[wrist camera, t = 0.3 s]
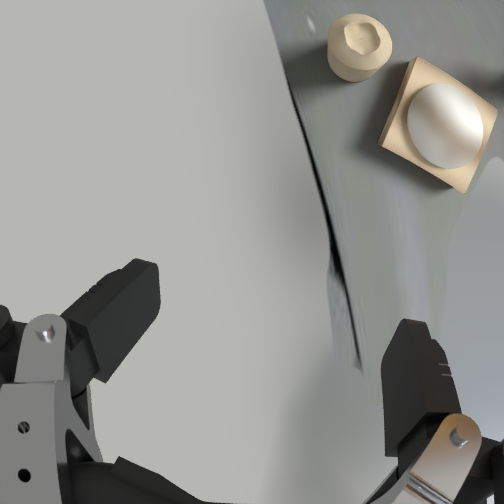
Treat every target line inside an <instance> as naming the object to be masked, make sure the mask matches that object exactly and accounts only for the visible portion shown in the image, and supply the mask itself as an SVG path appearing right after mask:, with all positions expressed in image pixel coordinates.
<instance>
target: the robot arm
mask: <svg viewBox="0 0 504 504" xmlns="http://www.w3.org/2000/svg"><path fill="white" fill-rule="evenodd" d="M160 303H161V300H160V287H159V270H158V266H157V264H155V263H152V262H149V261H145V260H141V259H137V258H136V259H133V260H132V261H131V262H129V263H128V264H127V265H126V266H125V267H124V268H122V269H118V270H116V271H114V272H111V273H109V274H107V275H105V276H104V277H103V278H102V279H101V280H99V281H98V282H97V284H96V285H94V286H92V287H91V288H90V289H89V291H88V292H86V293H85V294H83V295H82V296H81V297H80V298H79V299H78V300H76V301H75V302H74V303H73V304H72V305H71V306H70V307H69V308H68V309H66V310H65V311H64V312H63V313H62V314H61V315H60V316H58V315H55V314H45V315H41V316H38V317H36V318H34V319H33V320H31V321H30V322H29V323H28V324H27V323H22V322H16V321H13V320H12V317H11V315H10V313H9V310H8V309H7V307H5V306H2V305H0V504H229V503H212V502H204V501H201V500H199V499H197V498H195V497H194V496H192V495H190V494H189V493H187V492H185V491H184V490H182V489H181V488H179V487H178V486H176V485H175V484H173V483H171V482H170V481H169V480H167V479H165V478H164V477H163V476H161V475H160V474H158V473H155V472H153V471H150V470H148V469H145V468H143V467H141V466H139V465H137V464H134V463H132V462H130V461H128V460H126V459H124V458H122V457H120V456H119V457H118V458H117V460H116V462H115V463H114V464H112V463H105V462H103V458H102V455H101V452H100V449H99V446H98V444H97V441H96V437H95V431H94V423H93V414H92V403H91V390H90V385H89V382H90V381H91V380H92V379H93V377H94V378H96V379H98V380H100V381H102V382H104V383H106V382H107V381H108V380H109V378H110V377H111V376H112V374H113V373H114V372H115V370H116V369H117V368H118V366H119V365H120V364H121V362H122V361H123V360H124V359H125V357H126V356H127V354H128V353H129V352H130V351H131V349H132V348H133V347H134V346H135V344H136V343H137V342H138V340H139V339H140V338H141V336H142V335H143V334H144V332H145V331H146V330H147V329H148V328H149V326H150V325H151V324H152V322H153V321H154V320H155V319H156V317H157V315H158V313H159V309H160ZM381 380H382V392H383V408H384V430H385V456H387V457H398V465H397V466H395V467H394V469H393V470H392V471H391V472H390V473H389V475H388V476H387V477H386V478H385V479H384V480H383V482H382V483H381V484H380V485H379V486H378V487H377V488H376V490H375V491H374V492H373V493H372V494H371V495H370V496H369V497H368V498H367V500H365V501H364V503H363V504H487V498H488V497H490V496H491V495H493V494H494V502H495V503H494V504H504V439H503V440H502V441H501V442H498V441H495V440H492V439H488V438H485V437H482V436H481V432H480V429H479V427H478V425H477V424H476V423H475V422H474V420H472V419H471V418H470V417H468V416H466V415H463V414H462V412H461V408H460V404H459V400H458V396H457V392H456V388H455V385H454V381H453V378H452V377H451V371H450V367H449V366H448V361H447V358H446V355H445V352H444V350H443V349H442V347H441V346H440V345H439V343H438V342H437V341H436V340H434V339H431V336H430V333H429V330H428V327H427V324H426V323H425V322H422V321H416V320H410V319H405V318H404V319H402V320H401V322H400V323H399V325H398V327H397V330H396V332H395V334H394V336H393V338H392V340H391V342H390V344H389V346H388V348H387V350H386V351H385V354H384V356H383V359H382V363H381Z"/></svg>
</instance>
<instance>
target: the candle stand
mask: <svg viewBox="0 0 504 504" xmlns="http://www.w3.org/2000/svg"><path fill="white" fill-rule="evenodd" d="M497 113H498V110H497V109H496V108H494V107H493V106H492V105H491V104H489V103H488V102H487V101H486V100H484V99H483V98H482V97H480V96H479V95H477V94H476V93H475V92H473V91H472V90H471V89H469V88H468V87H466V86H465V85H463V84H462V83H460V82H459V81H457V80H456V79H454V78H453V77H451V76H450V75H448V74H447V73H445V72H443V71H442V70H440V69H439V68H437V67H435V66H434V65H432V64H430V63H428V62H427V61H425V60H423V59H421V58H420V57H418V56H417V57H416V58H414V59H412V60H411V61H410V62H409V64H408V67H407V70H406V73H405V75H404V78H403V81H402V83H401V86H400V89H399V91H398V94H397V96H396V99H395V102H394V104H393V107H392V109H391V112H390V114H389V117H388V119H387V121H386V124H385V126H384V129H383V131H382V134H381V136H380V138H379V141H378V143H377V144H378V145H380V146H382V147H384V148H386V149H388V150H390V151H392V152H394V153H396V154H397V155H399V156H401V157H403V158H405V159H407V160H408V161H410V162H412V163H414V164H416V165H417V166H419V167H421V168H423V169H424V170H426V171H428V172H430V173H431V174H433V175H435V176H436V177H438V178H439V179H441V180H443V181H444V182H446V183H448V184H449V185H451V186H452V187H454V188H455V189H457V190H459V191H460V192H462V193H463V194H465V192H466V190H467V188H468V186H469V184H470V181H471V179H472V177H473V175H474V173H475V170H476V168H477V166H478V163H479V161H480V159H481V156H482V154H483V151H484V149H485V146H486V144H487V141H488V138H489V136H490V133H491V130H492V127H493V125H494V122H495V119H496V116H497Z"/></svg>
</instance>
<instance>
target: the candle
mask: <svg viewBox="0 0 504 504" xmlns="http://www.w3.org/2000/svg"><path fill="white" fill-rule="evenodd" d="M391 52H392V41H391V38H390V35H389V33H388V32H387V30H386V29H385V27H384V26H383V25H382V24H381V23H379V22H378V21H377V20H375V19H374V18H372V17H369V16H367V15H363V14H347V15H344V16H341V17H339V18H338V19H336V20H335V21H334V22H333V23H332V25H331V26H330V28H329V31H328V52H327V57H328V63H329V65H330V67H331V69H332V70H333V72H334V73H335V74H336V75H337V76H339V77H340V78H342V79H344V80H347V81H351V82H360V81H364V80H366V79H368V78H369V77H371V76H372V75H373V74H374V73H375V72H376V71H377V70H378V69H379V68H380V67H382V66H383V65H384V64H385V63H386V62H387V60H388V59H389V57H390V55H391Z"/></svg>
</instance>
